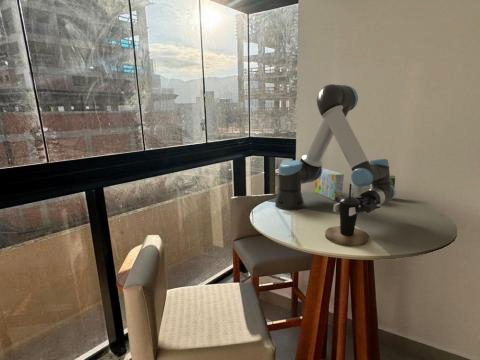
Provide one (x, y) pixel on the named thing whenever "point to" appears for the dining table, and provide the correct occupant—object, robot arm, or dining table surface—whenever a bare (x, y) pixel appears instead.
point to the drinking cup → (345, 220)
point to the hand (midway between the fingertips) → (342, 210)
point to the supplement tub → (358, 190)
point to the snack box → (330, 184)
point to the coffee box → (392, 181)
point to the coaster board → (346, 237)
